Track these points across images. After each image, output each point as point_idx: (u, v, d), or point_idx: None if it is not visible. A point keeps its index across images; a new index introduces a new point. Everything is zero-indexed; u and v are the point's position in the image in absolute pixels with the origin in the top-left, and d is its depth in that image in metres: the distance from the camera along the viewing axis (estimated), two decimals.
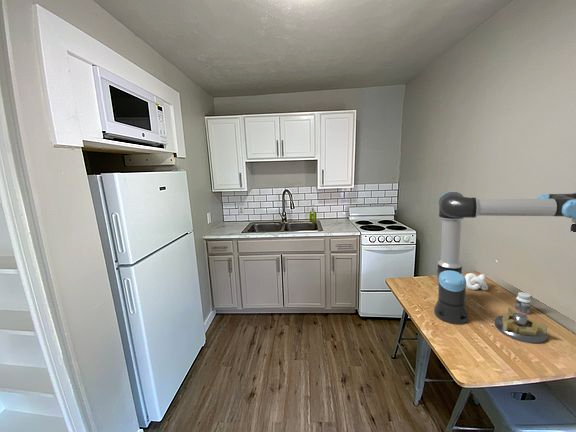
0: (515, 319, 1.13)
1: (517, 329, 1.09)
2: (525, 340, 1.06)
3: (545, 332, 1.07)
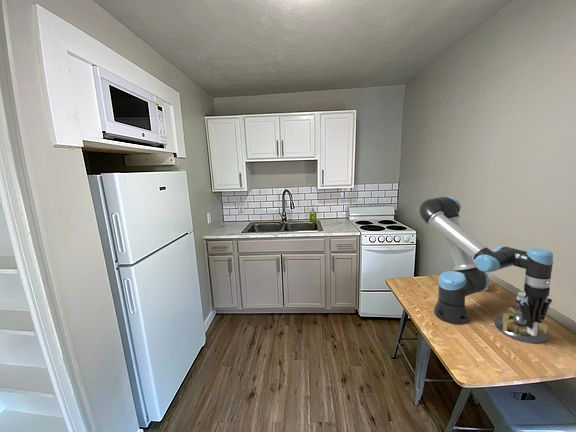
0: (515, 319, 1.13)
1: (517, 329, 1.09)
2: (525, 340, 1.06)
3: (545, 332, 1.07)
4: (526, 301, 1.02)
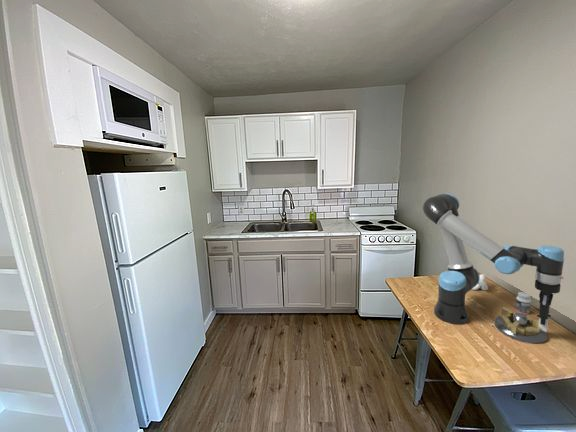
0: (515, 319, 1.13)
1: (524, 331, 1.08)
2: (525, 340, 1.06)
3: None
4: (546, 300, 1.03)
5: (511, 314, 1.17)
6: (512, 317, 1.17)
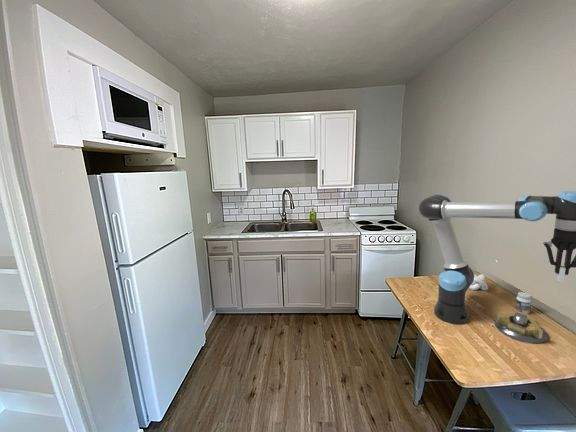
0: (515, 319, 1.13)
1: None
2: (525, 340, 1.06)
3: None
4: None
5: None
6: None
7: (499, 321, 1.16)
